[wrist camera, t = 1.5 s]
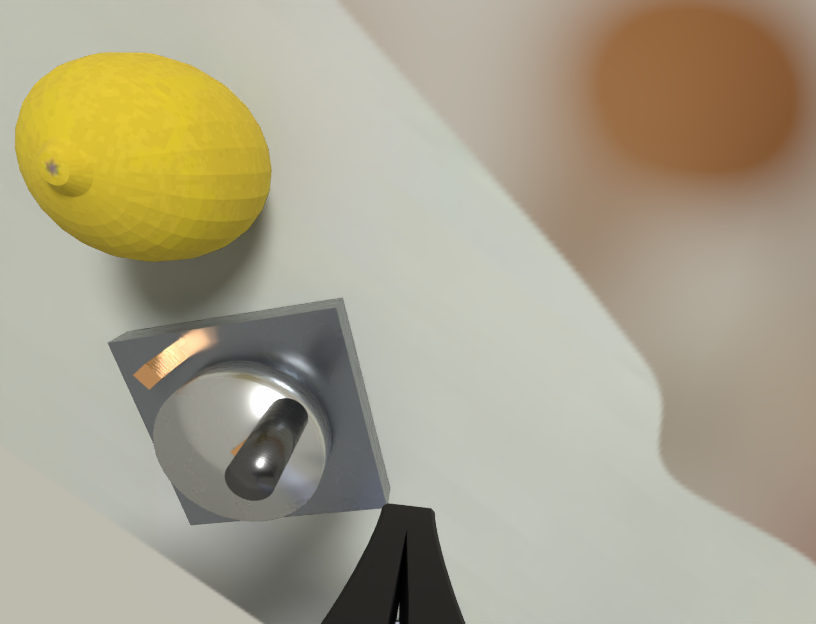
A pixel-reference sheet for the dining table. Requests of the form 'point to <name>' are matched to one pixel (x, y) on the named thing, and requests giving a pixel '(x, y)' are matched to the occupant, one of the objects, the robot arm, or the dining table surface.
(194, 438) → the dial
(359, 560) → the robot arm
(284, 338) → the dial plate
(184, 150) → the lemon
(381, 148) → the dining table surface
